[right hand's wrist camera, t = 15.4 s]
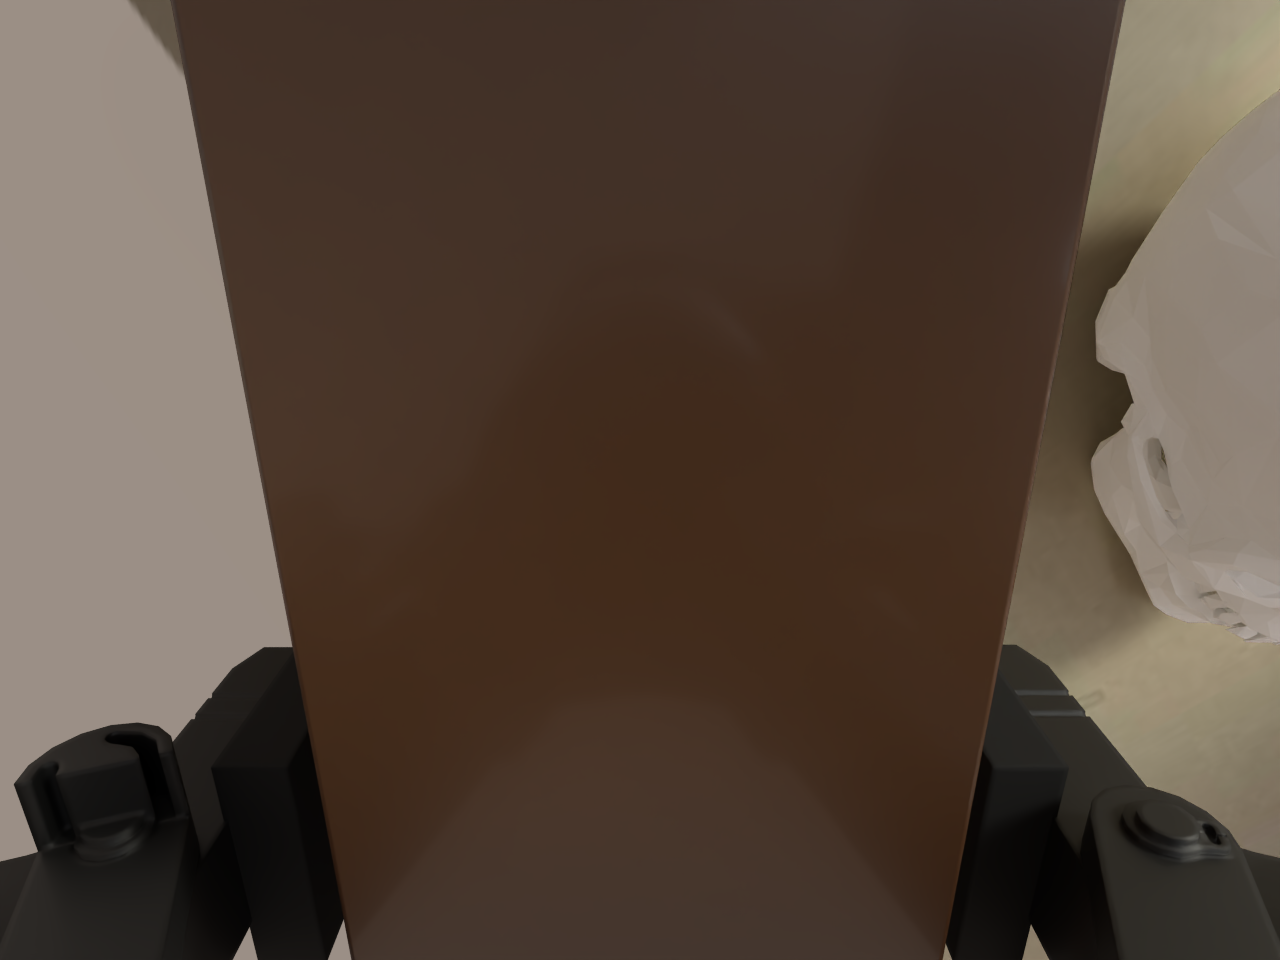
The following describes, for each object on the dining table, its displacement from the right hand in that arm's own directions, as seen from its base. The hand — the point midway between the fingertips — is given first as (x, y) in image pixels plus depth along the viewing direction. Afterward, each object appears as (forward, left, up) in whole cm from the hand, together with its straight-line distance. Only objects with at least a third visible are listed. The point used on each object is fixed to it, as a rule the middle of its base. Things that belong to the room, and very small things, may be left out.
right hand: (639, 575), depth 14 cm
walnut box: (-9, 0, -1) cm, 9 cm away
